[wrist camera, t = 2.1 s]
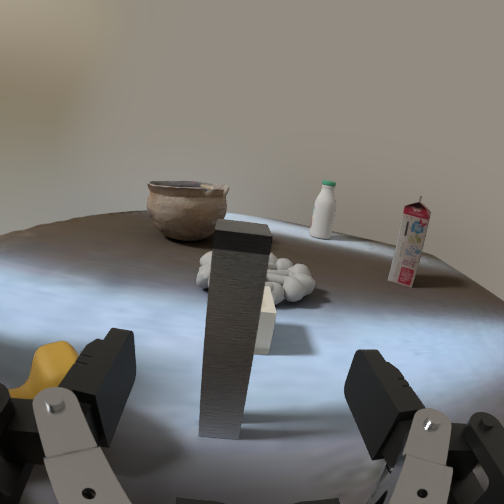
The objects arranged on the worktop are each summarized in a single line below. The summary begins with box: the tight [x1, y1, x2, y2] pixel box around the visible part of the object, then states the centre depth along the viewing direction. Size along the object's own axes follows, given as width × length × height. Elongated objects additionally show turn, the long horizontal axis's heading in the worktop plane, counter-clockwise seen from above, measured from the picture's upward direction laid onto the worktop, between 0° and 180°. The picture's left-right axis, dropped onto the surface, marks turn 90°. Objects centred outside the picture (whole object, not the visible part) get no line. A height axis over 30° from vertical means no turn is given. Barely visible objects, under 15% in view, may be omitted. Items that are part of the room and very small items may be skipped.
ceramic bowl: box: [147, 181, 229, 241], centre depth 84 cm, size 22×22×15 cm
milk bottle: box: [310, 180, 336, 239], centre depth 108 cm, size 8×8×20 cm
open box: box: [254, 286, 277, 355], centre depth 41 cm, size 8×8×6 cm
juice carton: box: [388, 196, 431, 288], centre depth 71 cm, size 7×7×22 cm
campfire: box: [196, 251, 316, 305], centre depth 58 cm, size 22×21×6 cm
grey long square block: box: [199, 219, 273, 439], centre depth 23 cm, size 4×4×18 cm
